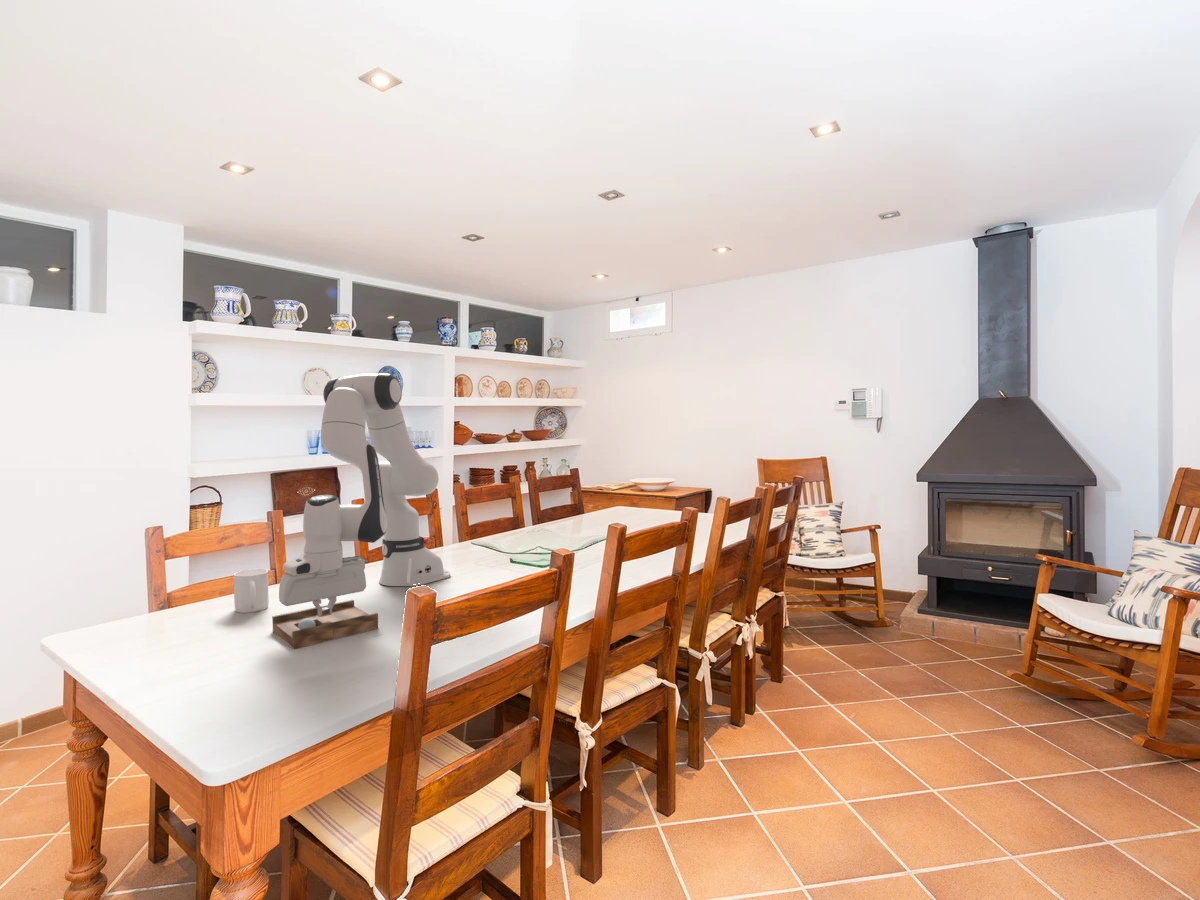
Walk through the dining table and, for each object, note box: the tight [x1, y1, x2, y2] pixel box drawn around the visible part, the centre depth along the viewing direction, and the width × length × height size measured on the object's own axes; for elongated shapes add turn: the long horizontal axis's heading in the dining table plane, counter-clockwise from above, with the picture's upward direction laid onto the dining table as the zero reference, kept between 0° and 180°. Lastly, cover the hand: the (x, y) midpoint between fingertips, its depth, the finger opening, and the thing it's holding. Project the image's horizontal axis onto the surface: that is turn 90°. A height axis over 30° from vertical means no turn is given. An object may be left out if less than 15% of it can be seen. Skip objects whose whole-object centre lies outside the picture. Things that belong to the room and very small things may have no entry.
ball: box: [298, 618, 316, 629], centre depth 152 cm, size 4×4×4 cm
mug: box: [233, 568, 270, 614], centre depth 170 cm, size 12×8×10 cm
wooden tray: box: [271, 599, 379, 650], centre depth 155 cm, size 20×16×4 cm
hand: (324, 615), depth 155 cm, fingers closed
